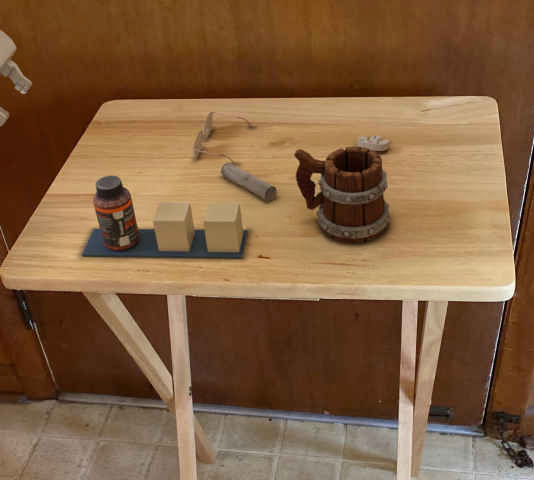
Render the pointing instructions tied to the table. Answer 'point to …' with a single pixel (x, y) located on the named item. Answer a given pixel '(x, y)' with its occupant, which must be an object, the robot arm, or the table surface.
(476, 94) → the table surface
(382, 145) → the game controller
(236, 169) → the rod
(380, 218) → the mug
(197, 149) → the eyeglasses
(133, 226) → the supplement bottle
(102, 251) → the line strip
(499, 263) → the table surface
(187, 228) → the cream block
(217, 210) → the cream block
